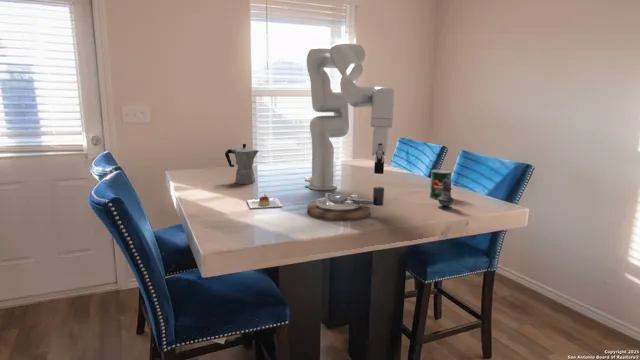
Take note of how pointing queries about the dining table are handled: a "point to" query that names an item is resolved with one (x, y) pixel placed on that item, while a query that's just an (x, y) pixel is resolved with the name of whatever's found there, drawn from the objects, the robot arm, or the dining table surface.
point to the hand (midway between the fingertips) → (379, 170)
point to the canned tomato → (438, 182)
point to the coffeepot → (243, 164)
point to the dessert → (264, 202)
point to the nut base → (338, 213)
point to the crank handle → (349, 201)
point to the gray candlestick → (446, 195)
